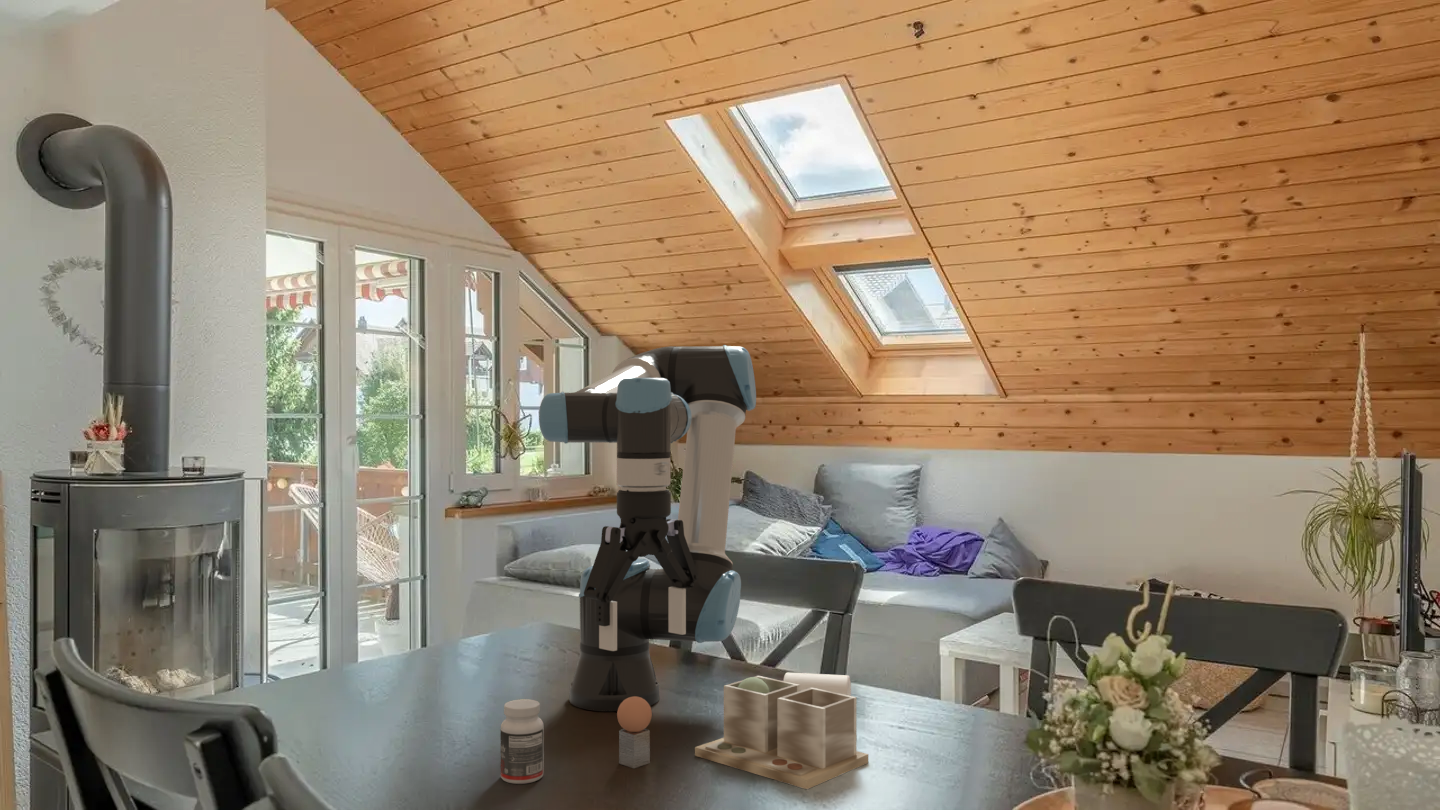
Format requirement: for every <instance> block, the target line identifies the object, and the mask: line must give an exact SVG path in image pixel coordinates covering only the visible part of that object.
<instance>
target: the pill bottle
mask: <svg viewBox="0 0 1440 810" xmlns="http://www.w3.org/2000/svg"><path fill="white" fill-rule="evenodd" d="M503 709H504V710H503V715H505V719H504V720H503V721H502V723H501V725H500V736H499V737H500V778H501V779H502V780H503V781H504V782H506V783H509V784H513V785H516V784H517V785H523V784H530V783H534V782H536V781H539V780H540V779H542V778H543V776H544V772H545V771H544V770H545V766H544V764H545V763H544V761H545V760H544V759H545V756H544V755H545V751H544V745H545V744H544V743H545V742H544V741H545V740H544V737H545V736H544V735H545V732H544V730H545V728H544V722H543V720H542V719H541V718H540V717H539V713H540V712H541V711H540V702H539V701H537V700H535V699H528V698H524V699H520V698H519V699H514V700H510V701H507V702H505V703H504V706H503Z"/></svg>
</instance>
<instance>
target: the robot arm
mask: <svg viewBox="0 0 1440 810" xmlns="http://www.w3.org/2000/svg"><path fill="white" fill-rule="evenodd" d="M754 373H755V371H754V368H753V361H752V357H751V354H750V352H749V351H748V349H746V348H745V347H743V346H735V345H733V346H731V345H726V344H723V345H721V346H719V345H718V346H716V345H715V346H713V345H711V346H707V345H706V346H702V345H701V346H672V345H670V346H664V347H663V346H662V347H657V348H654V349H650V350H648V351H644V352H640V353H638V354H636V355H632V356H631V357H628V358H627V359H625V360H623V361H621V362H619V363H618V364H617V365H616V366H615V367H614V369H613V371H612V373H610V374H608V375H605V376H604V377H602V378H600V379H598V380H596V381H594V382H592V383H591V384H588V385H587V386H585V387H583V388H581V389H580V390H579V389H578V390H577V391H575V392H565V391H561V392H550V393H547V394H546V395H545V396H544V397H543V398H542V400H541V401H540V405H539V411H538V423H539V429H540V430H539V431H540V433H541V435H542V437H543V438H544V439H545V440H546V441H548V442H553V443H564V444H566V445H567V444H569V443H574V444H575V443H581V444H582V443H609V444H616V485H617V487H620V489H619V490H618V491H617V492H616V515H617V516H618V517H619V519H620V524H619V527H617V526H608V525H607V526H606V525H605V526H602V529H601V538H600V539H601V540H600V545H599V547H598V550H597V554H596V555H595V559H594V563H593V564H592V565H590V566H588V567H587V568H585V569H584V570H583V571H582V573H581V576H580V582H579V583H580V584H579V585H580V586H579V593H578V598H579V656H578V657H579V658H578V659H577V664H576V668H575V671H574V676H573V680H572V682H571V683H570V685H569V702H570V704H571V705H573V706H574V707H576V708H579V709H584V710H589V711H596V712H617V711H618V708H619V706H620V704H621V703H622V702H623V701H624V700H625V699H627V698H629V697H633V696H636V697H641V698H643V699H644V700H646V701H647V702H648V704H649V705H650V706H652V705H654V704H657V702H659V701H660V683H659V681H658V680H657V677H656V671H655V668H654V665H653V661H652V657H651V655H650V640H656V641H657V640H658V641H659V640H660V641H678V642H697V643H698V644H702V643H704V642H705V643H708V642H709V643H710V642H714V643H718V642H722V641H725V640H726V639H727V638H728V637H729V636H730V635H731V633H732V631H733V629H734V627H735V624H736V621H737V618H738V613H739V609H740V603H741V591H742V590H741V589H742V579H741V576H740V574H739V573H738V572H737V571H736V570H733V568H734V567H733V565H734V563H733V561H732V560H731V559H730V558H729V556H727V554H726V544H727V543H726V542H727V532H728V520H729V512H730V511H729V509H730V497H731V488H732V477H733V467H734V466H733V463H734V454H735V453H734V452H735V441H736V431H737V428H738V427H739V426H741V425H742V424H744V422H745V420H746V414H747V413H746V412H747V411H748V412H750V411H753V410H755V408H756V404H757V389H756V379H755V374H754ZM685 435H686V442H685V451H684V460H683V469H682V478H681V487H680V497H679V506H678V507H679V508H678V513H677V514H678V517H677V519H675V518H674V519H673V518H668V517H669V516H670V515H671V513H672V507H671V506H672V504H671V503H672V500H671V499H672V498H671V497H672V496H671V495H672V493H671V491H670V490H669V489H667V487H669V486H670V485H671V457H672V454H671V451H672V450H671V446H672V445H671V444H673V443H674V442H677V440H680V439H682V437H684V436H685ZM648 555H650V556H654V557H655V559H656V560H657V562H658V564H659V565H660V567H661V568H657V569H655V568H651V564H650V561H649V560H648V559H646V558H644V557H646V556H648ZM642 558H643V559H642Z"/></svg>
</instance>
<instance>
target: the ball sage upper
mask: <svg viewBox="0 0 1440 810" xmlns="http://www.w3.org/2000/svg"><path fill="white" fill-rule="evenodd" d="M742 680H743V681H742ZM742 680H741V681H742V682H741V683H740V684H739V686H738V688H742V689H746V690H750V691H755V692H759V693H763V694H766V693H769V688H768V686H767V685H766V683H765V682H764V681H763V680H761V679H759V678H756V677H755V676H751V677H747V678H745V679H742Z"/></svg>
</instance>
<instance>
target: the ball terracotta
mask: <svg viewBox="0 0 1440 810" xmlns="http://www.w3.org/2000/svg"><path fill="white" fill-rule="evenodd" d="M616 712H617V713H616V716H617V721H618V723H619V725H620V726H621V728H622V729H625V730H627V731H629V732H639V731H642V730H643V729H647V727H648V726H649V725H650V723H651V720H652V715H653V714H652V713H653V712H652V707H651V705H649V704H648V702H647V701H646V700H644V699H643V698H641V697H636V696H633V697H629V698H627V699H625V700H624V701H623V702H622V703H621V704H620V706H619V708H618V711H616Z"/></svg>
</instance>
